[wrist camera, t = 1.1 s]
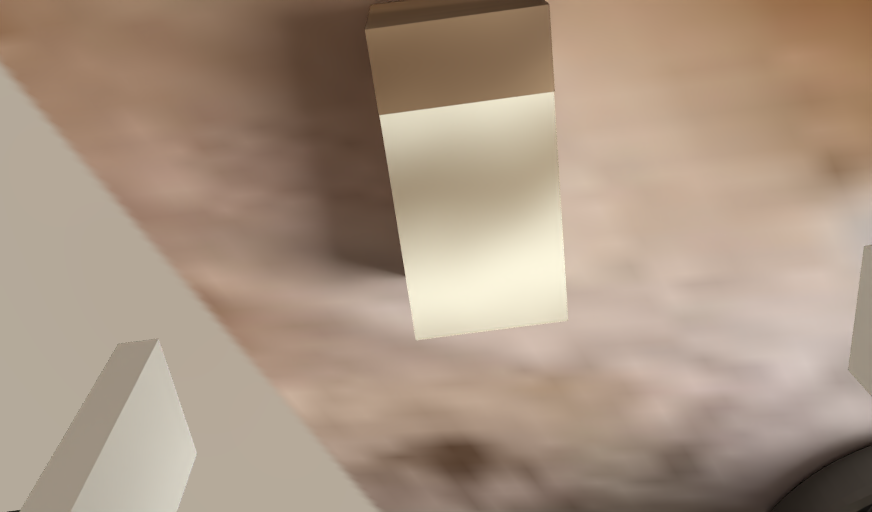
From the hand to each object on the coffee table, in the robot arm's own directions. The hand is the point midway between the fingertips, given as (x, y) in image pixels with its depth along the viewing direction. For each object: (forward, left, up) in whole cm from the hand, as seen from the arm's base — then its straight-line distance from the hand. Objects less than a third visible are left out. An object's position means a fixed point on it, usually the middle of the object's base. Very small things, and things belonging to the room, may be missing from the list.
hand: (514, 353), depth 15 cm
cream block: (0, 0, -14) cm, 14 cm away
